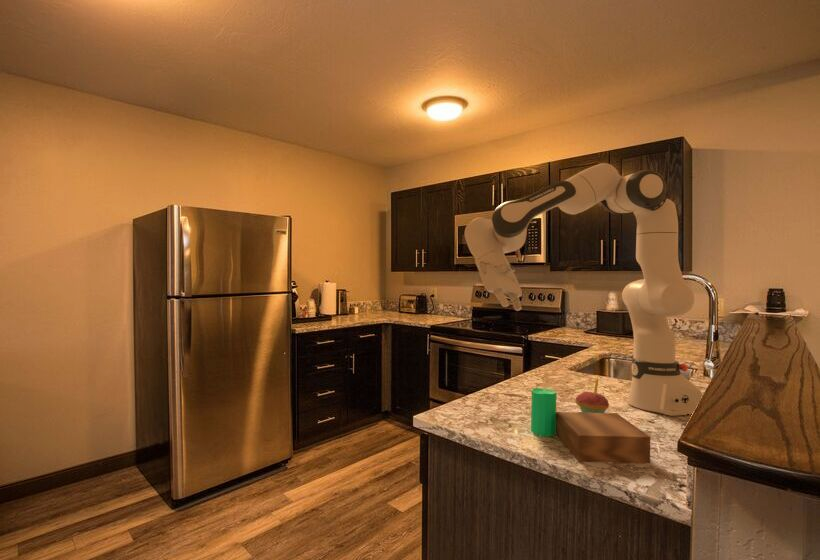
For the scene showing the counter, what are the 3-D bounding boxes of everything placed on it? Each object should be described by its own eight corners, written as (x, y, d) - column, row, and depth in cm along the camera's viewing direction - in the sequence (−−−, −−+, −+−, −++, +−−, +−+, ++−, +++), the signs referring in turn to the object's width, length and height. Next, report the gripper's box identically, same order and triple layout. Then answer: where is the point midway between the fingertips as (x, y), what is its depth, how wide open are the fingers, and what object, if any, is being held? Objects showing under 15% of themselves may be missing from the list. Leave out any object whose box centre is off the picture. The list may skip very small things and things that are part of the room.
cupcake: (615, 422, 112) (616, 378, 112) (589, 425, 110) (590, 380, 109) (593, 411, 120) (594, 371, 120) (568, 414, 118) (569, 372, 118)
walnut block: (616, 437, 102) (616, 413, 102) (649, 465, 87) (650, 437, 87) (555, 435, 103) (555, 411, 103) (578, 463, 88) (579, 435, 88)
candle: (557, 437, 101) (558, 388, 100) (532, 435, 102) (532, 387, 102) (553, 428, 106) (554, 382, 106) (529, 426, 108) (530, 381, 107)
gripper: (487, 253, 113) (507, 297, 107) (515, 268, 129) (534, 307, 123) (468, 265, 115) (487, 308, 110) (498, 277, 132) (516, 316, 126)
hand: (512, 308), depth 117 cm, fingers open, 8 cm apart
